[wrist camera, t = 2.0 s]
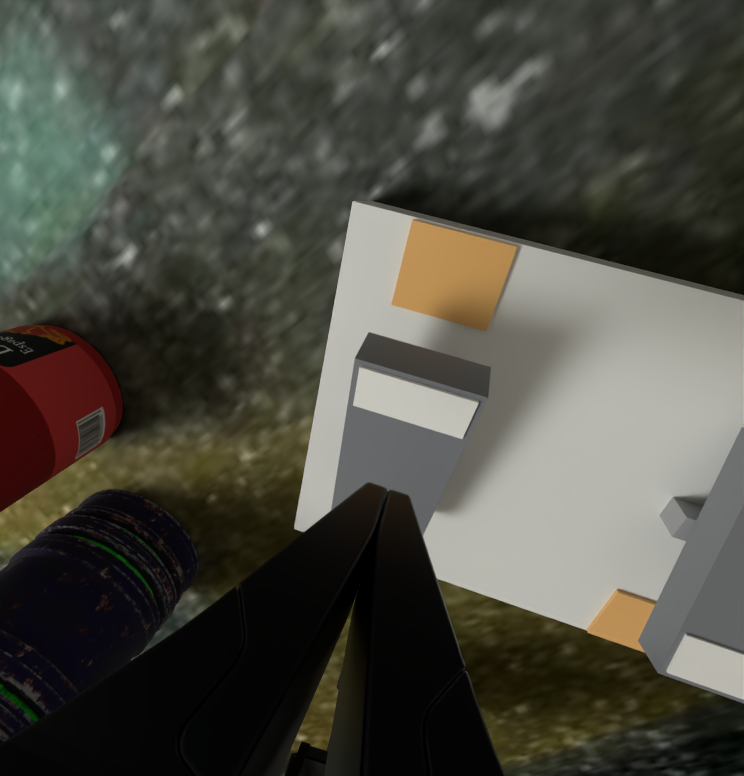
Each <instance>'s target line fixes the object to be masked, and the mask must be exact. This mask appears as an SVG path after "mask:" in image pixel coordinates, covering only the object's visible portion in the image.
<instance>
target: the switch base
mask: <svg viewBox="0 0 744 776" xmlns="http://www.w3.org/2000/svg"><path fill="white" fill-rule="evenodd" d="M368 332H371V333H374V334H378V335H381V336H385V337H388V338H392V339H395V340H399V341H402V342H405V343H409V344H412V345H416V346H419V347H423V348H426V349H430V350H433V351H437V352H440V353H444V354H447V355H451V356H454V357H458V358H461V359H464V360H468V361H471V362H475V363H478V364H482V365H485V366H489V367H491V373H490V384H489V395H488V399H487V401H486V404H485V406H484V408H483V410H482V412H481V414H480V416H479V418H478V420H477V423H476V425H475V427H474V429H473V431H472V433H471V435H470V437H469V440H468V442H467V444H466V446H465V448H464V450H463V452H462V454H461V456H460V459H459V461H458V463H457V465H456V467H455V469H454V471H453V473H452V475H451V478H450V480H449V482H448V484H447V486H446V488H445V490H444V492H443V495H442V497H441V499H440V501H439V503H438V505H437V507H436V509H435V511H434V514H433V516H432V518H431V520H430V522H429V524H428V526H427V528H426V530H425V533H424V535H423V538H424V541H425V544H426V547H427V550H428V553H429V556H430V559H431V562H432V565H433V568H434V571H435V574H436V578H437V579H440V580H443V581H446V582H448V583H451V584H454V585H457V586H460V587H463V588H466V589H469V590H472V591H474V592H477V593H480V594H483V595H486V596H489V597H492V598H495V599H497V600H500V601H503V602H506V603H509V604H512V605H515V606H518V607H521V608H523V609H526V610H529V611H532V612H535V613H538V614H541V615H544V616H546V617H549V618H552V619H555V620H558V621H561V622H564V623H567V624H570V625H572V626H575V627H578V628H581V629H584V630H587V632H588V633H590V634H593V635H596V636H598V637H601V638H604V639H607V640H610V641H613V642H616V643H619V644H622V645H624V646H627V647H630V648H633V649H636V650H639V651H642V652H645V651H644V650H643V648H642V647H641V645H640V643H639V642H638V639H639V637H640V635H641V633H642V631H643V629H644V627H645V625H646V623H647V621H648V619H649V617H650V615H651V613H652V610H653V608H654V606H655V604H656V602H657V600H658V598H659V596H660V594H661V592H662V590H663V588H664V586H665V584H666V582H667V580H668V578H669V576H670V573H671V571H672V569H673V567H674V565H675V563H676V561H677V559H678V557H679V555H680V553H681V551H682V549H683V547H684V545H685V543H686V541H687V539H688V536H689V534H690V532H691V530H692V528H693V526H694V524H695V522H696V520H697V518H698V516H699V514H700V512H701V510H702V508H703V506H704V504H705V502H706V500H707V497H708V495H709V493H710V491H711V489H712V487H713V485H714V483H715V481H716V479H717V477H718V475H719V473H720V471H721V469H722V467H723V465H724V463H725V460H726V458H727V456H728V454H729V452H730V450H731V448H732V446H733V444H734V442H735V440H736V438H737V436H738V434H739V432H740V430H741V428H742V427H744V295H741V294H737V293H733V292H729V291H725V290H721V289H717V288H713V287H709V286H705V285H701V284H697V283H694V282H690V281H686V280H682V279H678V278H674V277H670V276H666V275H662V274H658V273H654V272H650V271H646V270H642V269H638V268H634V267H630V266H626V265H623V264H619V263H615V262H611V261H607V260H603V259H599V258H595V257H591V256H587V255H583V254H579V253H575V252H571V251H567V250H563V249H559V248H556V247H552V246H548V245H544V244H540V243H536V242H532V241H528V240H524V239H520V238H516V237H512V236H508V235H504V234H500V233H496V232H492V231H489V230H485V229H481V228H477V227H473V226H469V225H465V224H461V223H457V222H453V221H449V220H445V219H441V218H437V217H433V216H429V215H425V214H422V213H418V212H414V211H410V210H406V209H402V208H398V207H394V206H390V205H386V204H382V203H378V202H374V201H353V202H352V208H351V213H350V219H349V225H348V230H347V236H346V241H345V247H344V252H343V258H342V263H341V269H340V275H339V280H338V286H337V291H336V297H335V302H334V308H333V314H332V319H331V325H330V330H329V336H328V341H327V347H326V353H325V358H324V364H323V369H322V375H321V380H320V386H319V392H318V397H317V403H316V408H315V414H314V419H313V425H312V430H311V436H310V442H309V447H308V453H307V458H306V464H305V469H304V475H303V481H302V486H301V492H300V497H299V503H298V508H297V514H296V520H295V525H294V529H296V530H299V531H301V532H305V531H306V530H307V529H308V528H310V527H311V526H312V525H313V524H315V523H316V522H317V521H318V520H320V519H321V518H322V517H323V516H325V515H326V514H327V513H328V512H330V511H331V507H332V501H333V494H334V488H335V482H336V475H337V469H338V462H339V456H340V450H341V443H342V437H343V431H344V424H345V418H346V411H347V405H348V399H349V392H350V386H351V379H352V373H353V367H354V360H355V357H356V355H357V353H358V351H359V349H360V347H361V346H362V344H363V342H364V340H365V338H366V336H367V334H368Z"/></svg>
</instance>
